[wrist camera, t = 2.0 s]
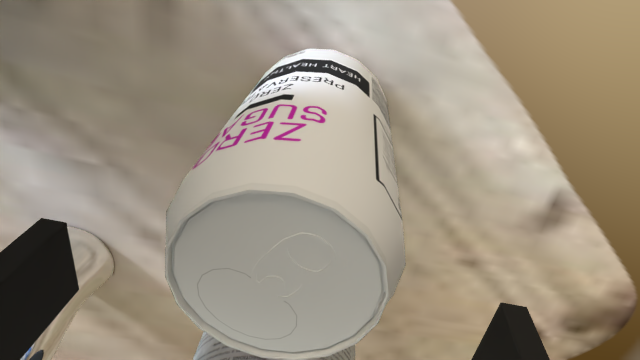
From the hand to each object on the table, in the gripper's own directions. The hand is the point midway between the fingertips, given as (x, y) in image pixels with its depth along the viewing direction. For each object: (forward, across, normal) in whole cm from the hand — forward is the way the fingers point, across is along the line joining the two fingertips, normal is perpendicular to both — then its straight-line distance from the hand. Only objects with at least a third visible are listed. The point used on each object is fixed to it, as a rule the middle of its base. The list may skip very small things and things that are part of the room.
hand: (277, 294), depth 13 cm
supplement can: (+15, 0, 0) cm, 15 cm away
